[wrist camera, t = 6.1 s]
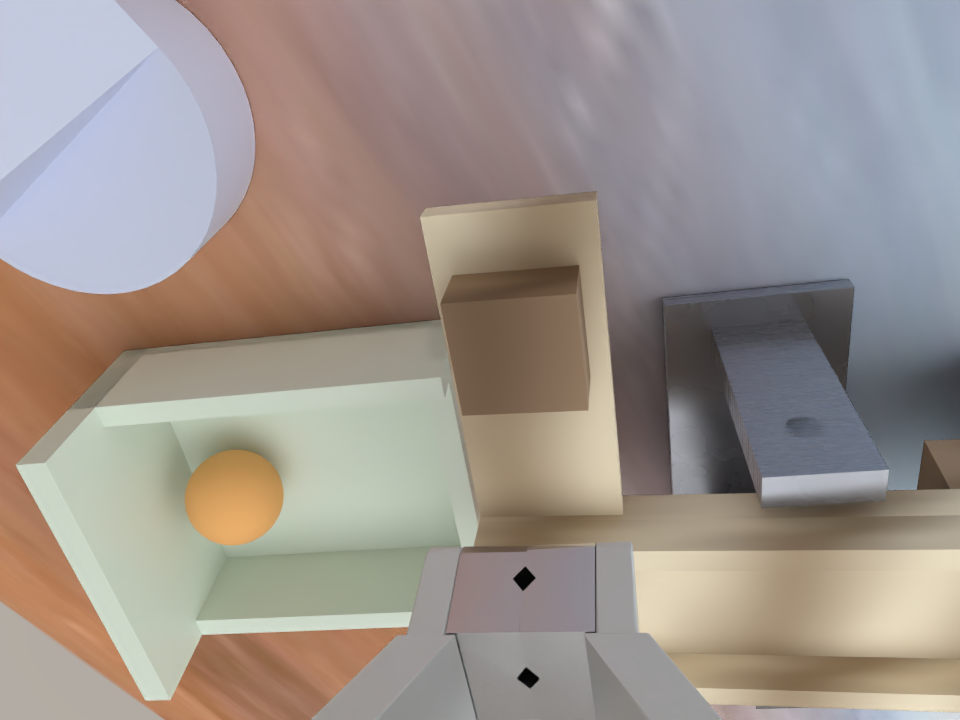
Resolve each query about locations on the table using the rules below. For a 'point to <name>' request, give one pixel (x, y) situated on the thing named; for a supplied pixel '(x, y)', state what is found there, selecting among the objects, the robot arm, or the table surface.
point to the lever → (691, 517)
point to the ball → (234, 497)
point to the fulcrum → (767, 398)
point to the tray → (303, 471)
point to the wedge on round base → (115, 141)
